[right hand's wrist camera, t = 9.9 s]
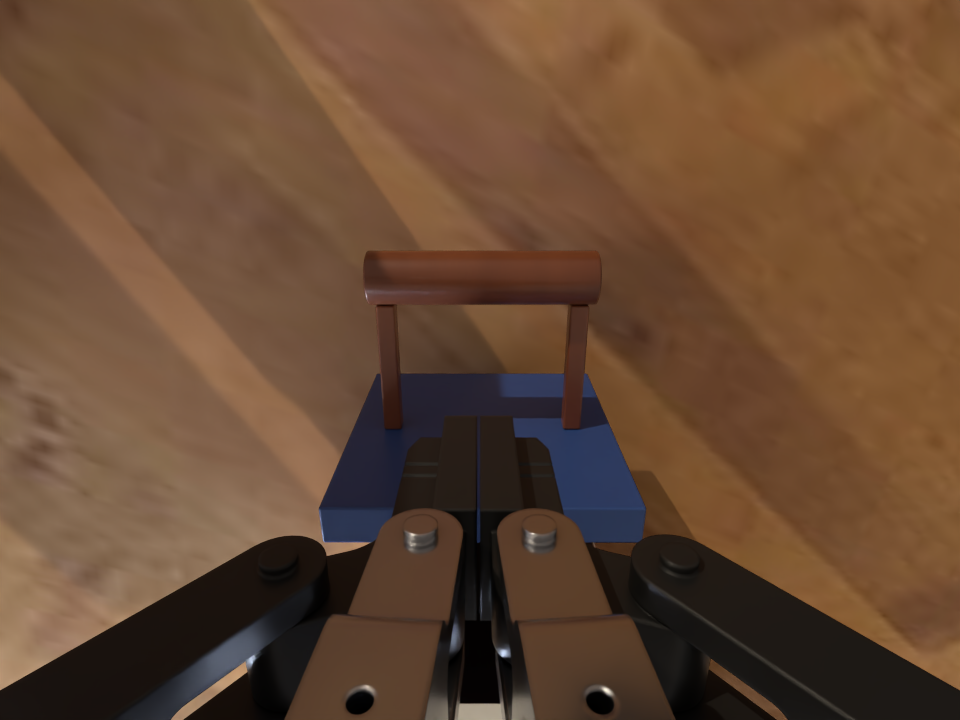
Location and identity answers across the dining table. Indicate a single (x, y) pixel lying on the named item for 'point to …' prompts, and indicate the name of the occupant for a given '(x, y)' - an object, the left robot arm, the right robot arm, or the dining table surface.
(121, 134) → the dining table surface
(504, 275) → the drawer
